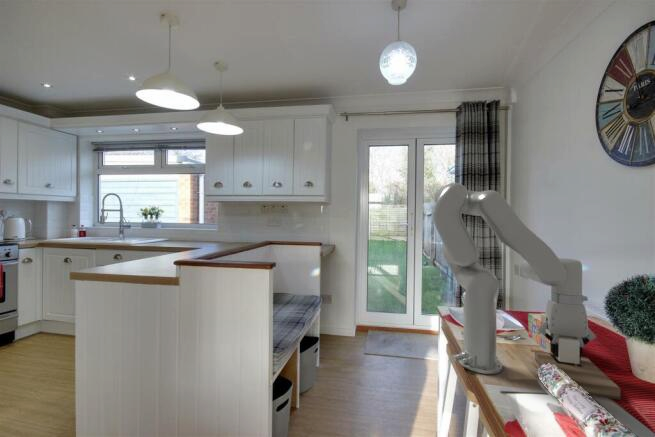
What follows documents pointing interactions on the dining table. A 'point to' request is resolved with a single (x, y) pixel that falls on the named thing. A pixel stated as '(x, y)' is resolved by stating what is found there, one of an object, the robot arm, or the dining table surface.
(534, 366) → the dining table surface
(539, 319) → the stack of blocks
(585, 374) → the walnut puzzle board
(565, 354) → the cream block
